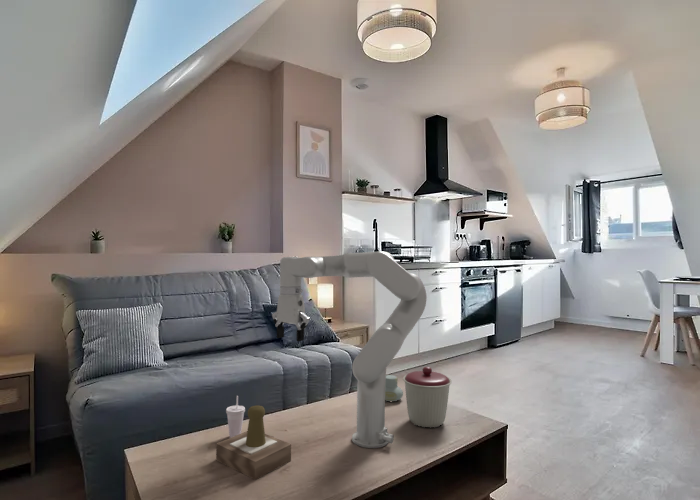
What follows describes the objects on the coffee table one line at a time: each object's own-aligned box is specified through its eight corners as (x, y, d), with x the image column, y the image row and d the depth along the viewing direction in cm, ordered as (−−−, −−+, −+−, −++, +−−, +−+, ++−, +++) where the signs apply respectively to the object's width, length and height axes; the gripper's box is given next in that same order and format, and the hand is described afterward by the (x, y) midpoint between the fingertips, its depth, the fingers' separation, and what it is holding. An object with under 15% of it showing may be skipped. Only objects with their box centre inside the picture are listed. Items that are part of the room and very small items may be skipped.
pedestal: (290, 460, 128) (291, 442, 128) (255, 479, 117) (255, 460, 117) (252, 444, 139) (252, 427, 139) (216, 460, 128) (216, 442, 128)
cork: (256, 449, 124) (256, 411, 124) (241, 444, 127) (241, 407, 127) (270, 441, 129) (270, 405, 129) (255, 436, 132) (256, 401, 132)
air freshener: (403, 397, 186) (404, 375, 187) (401, 404, 178) (402, 380, 178) (379, 395, 189) (379, 373, 189) (376, 401, 181) (376, 378, 181)
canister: (393, 423, 158) (393, 367, 158) (418, 410, 172) (419, 358, 172) (436, 437, 146) (436, 376, 146) (459, 422, 160) (460, 366, 160)
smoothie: (239, 441, 140) (240, 399, 141) (221, 439, 142) (222, 398, 142) (247, 433, 147) (248, 393, 147) (231, 431, 148) (231, 392, 148)
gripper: (315, 292, 148) (315, 340, 148) (280, 289, 158) (280, 334, 158) (301, 293, 142) (301, 344, 142) (265, 290, 152) (265, 338, 152)
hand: (290, 339), depth 150 cm, fingers open, 9 cm apart
